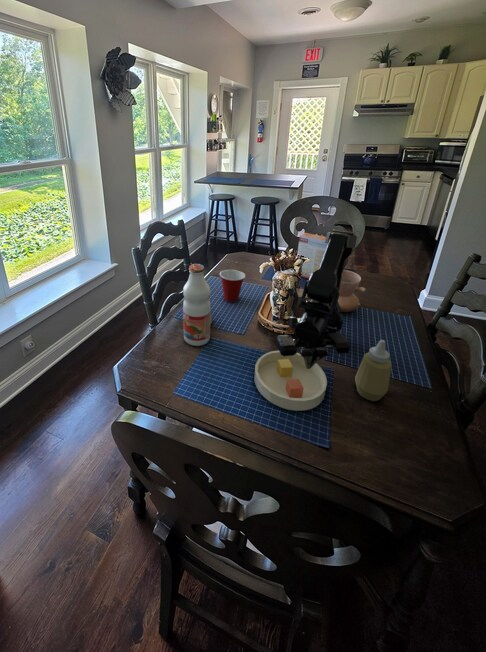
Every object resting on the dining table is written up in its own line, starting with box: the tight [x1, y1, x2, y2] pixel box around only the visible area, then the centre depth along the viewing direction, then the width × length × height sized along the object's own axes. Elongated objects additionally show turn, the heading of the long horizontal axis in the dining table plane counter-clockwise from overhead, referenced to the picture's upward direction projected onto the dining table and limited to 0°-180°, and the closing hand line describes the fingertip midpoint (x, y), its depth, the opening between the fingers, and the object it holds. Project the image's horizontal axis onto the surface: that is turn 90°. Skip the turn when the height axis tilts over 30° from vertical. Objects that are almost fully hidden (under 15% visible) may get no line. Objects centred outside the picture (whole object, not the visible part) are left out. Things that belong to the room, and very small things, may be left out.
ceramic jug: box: [338, 269, 366, 313], centre depth 129 cm, size 18×14×14 cm
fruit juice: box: [182, 263, 212, 347], centre depth 108 cm, size 9×9×28 cm
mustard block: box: [277, 359, 293, 377], centre depth 96 cm, size 4×4×4 cm
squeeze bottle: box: [354, 339, 393, 402], centre depth 86 cm, size 8×8×18 cm
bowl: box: [253, 349, 328, 412], centre depth 93 cm, size 20×20×4 cm
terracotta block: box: [286, 379, 304, 398], centre depth 89 cm, size 4×4×4 cm
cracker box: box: [297, 232, 328, 280], centre depth 152 cm, size 14×6×21 cm, turn 46°
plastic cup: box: [219, 269, 246, 303], centre depth 136 cm, size 11×11×12 cm
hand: (307, 367), depth 92 cm, fingers closed
